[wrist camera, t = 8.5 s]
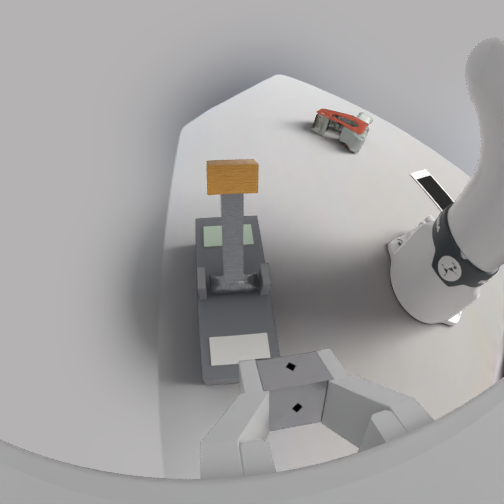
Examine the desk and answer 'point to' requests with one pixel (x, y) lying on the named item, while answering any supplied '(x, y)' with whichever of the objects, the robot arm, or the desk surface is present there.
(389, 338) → the desk surface
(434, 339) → the desk surface
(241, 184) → the lever
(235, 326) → the block
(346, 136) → the tape dispenser
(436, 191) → the cell phone
